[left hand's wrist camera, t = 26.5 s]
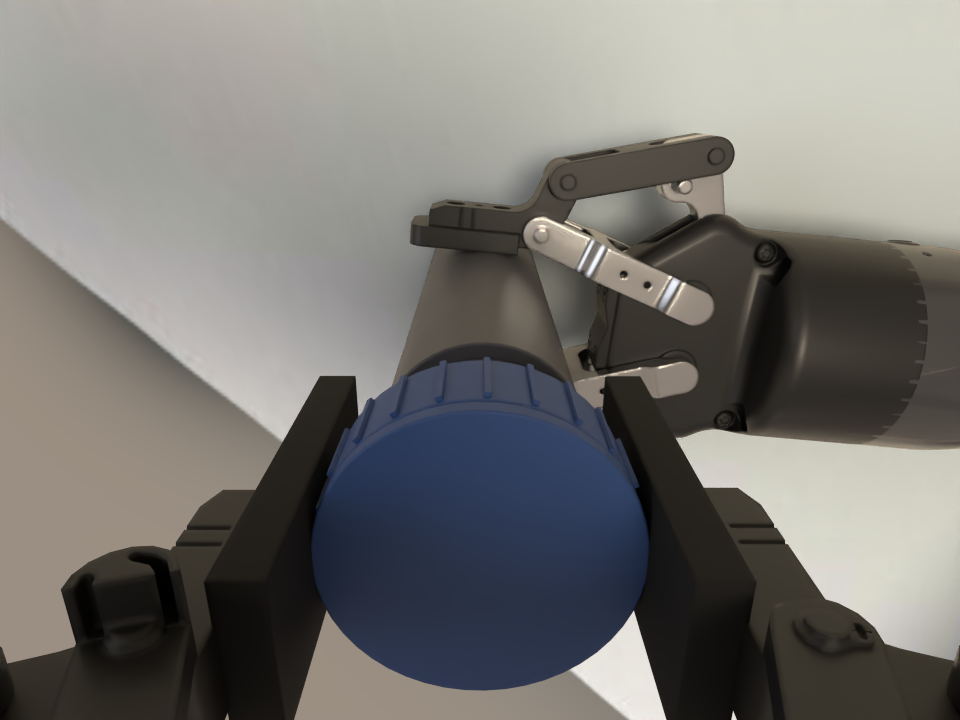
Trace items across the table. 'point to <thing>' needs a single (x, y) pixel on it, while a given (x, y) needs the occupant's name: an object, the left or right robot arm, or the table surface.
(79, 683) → the left robot arm
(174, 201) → the table surface
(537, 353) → the jar
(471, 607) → the lid
